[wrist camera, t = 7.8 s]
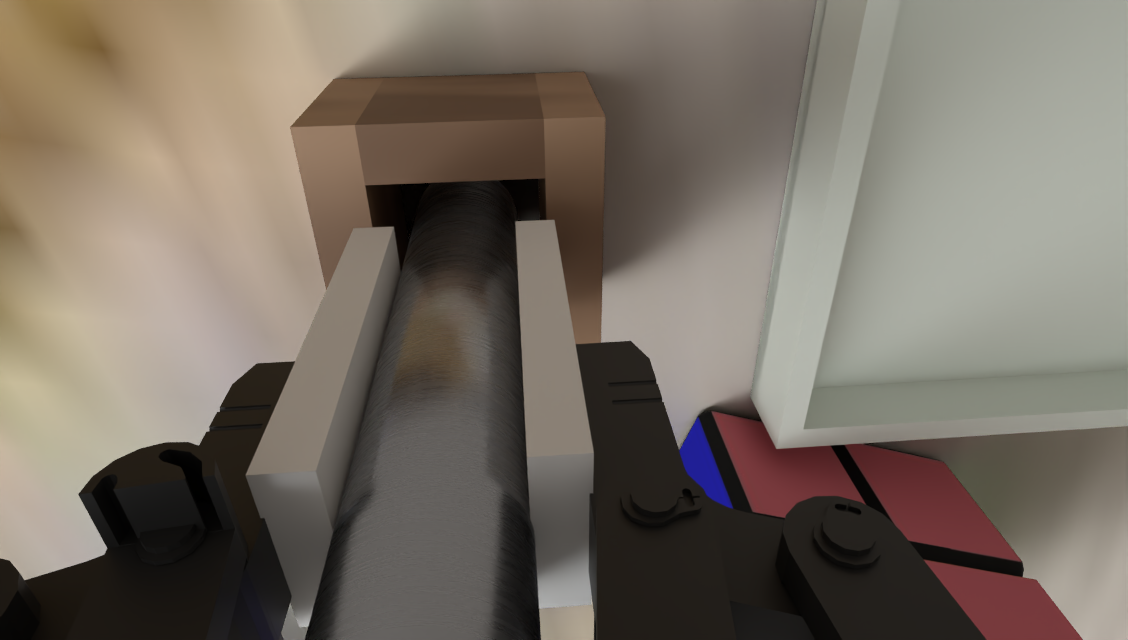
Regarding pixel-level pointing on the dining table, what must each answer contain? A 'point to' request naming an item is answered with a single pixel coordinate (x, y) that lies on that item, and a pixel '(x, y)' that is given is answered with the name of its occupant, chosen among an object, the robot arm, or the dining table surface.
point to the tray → (952, 225)
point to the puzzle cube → (897, 490)
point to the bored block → (459, 160)
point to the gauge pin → (441, 446)
